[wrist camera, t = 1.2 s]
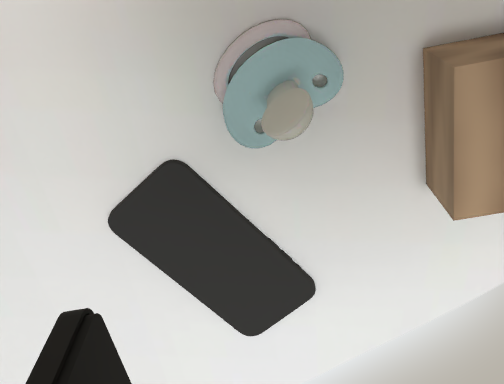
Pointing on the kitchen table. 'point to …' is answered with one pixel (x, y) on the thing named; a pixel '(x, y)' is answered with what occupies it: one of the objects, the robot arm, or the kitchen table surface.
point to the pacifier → (275, 83)
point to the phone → (210, 249)
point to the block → (465, 125)
